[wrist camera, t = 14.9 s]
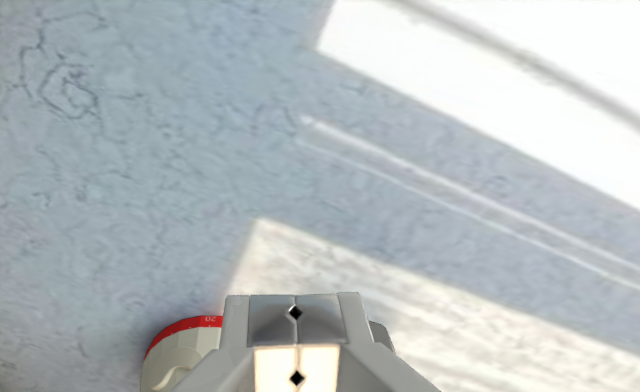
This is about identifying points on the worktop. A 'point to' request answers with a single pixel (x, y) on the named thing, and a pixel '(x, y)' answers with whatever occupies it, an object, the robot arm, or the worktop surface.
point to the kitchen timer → (178, 351)
